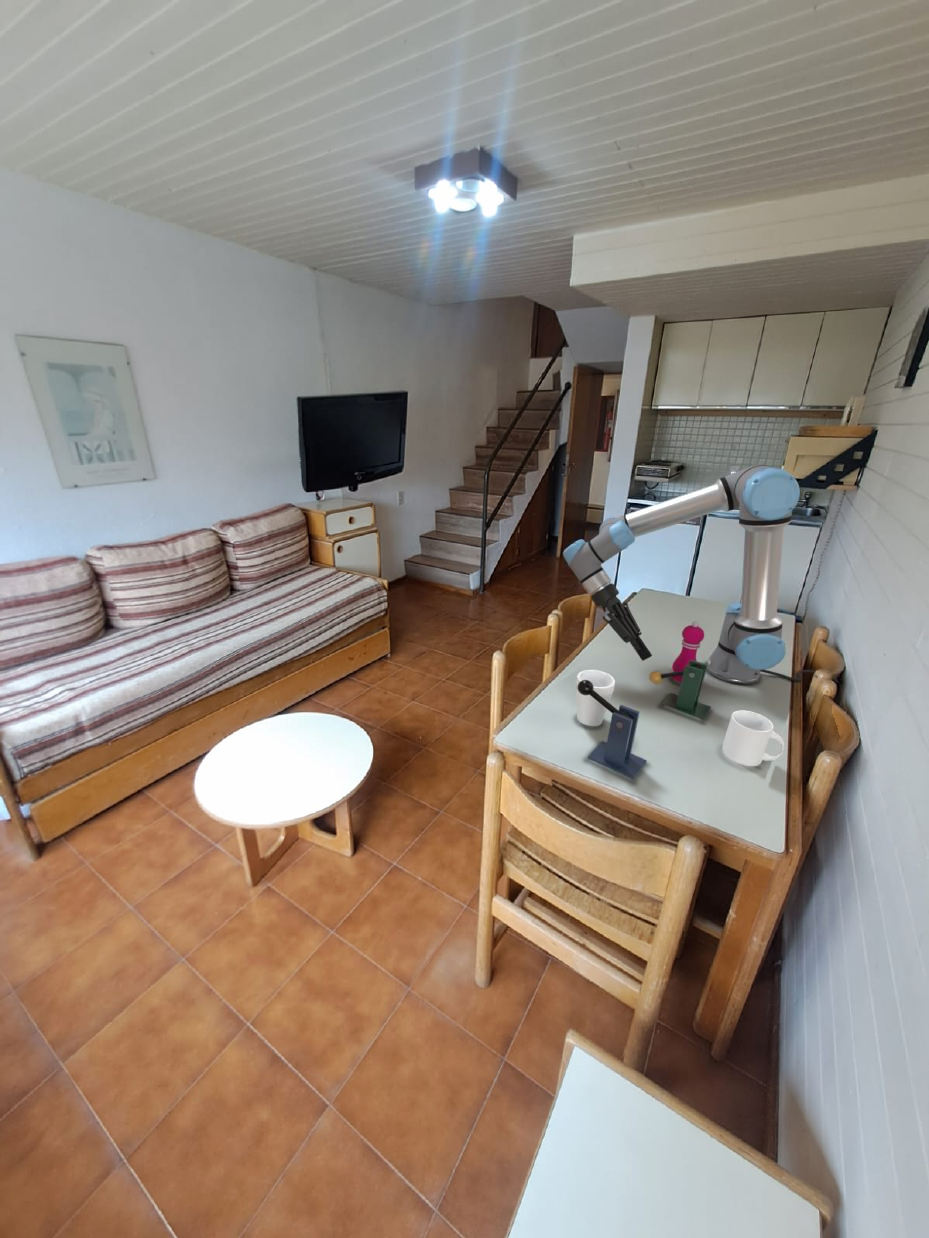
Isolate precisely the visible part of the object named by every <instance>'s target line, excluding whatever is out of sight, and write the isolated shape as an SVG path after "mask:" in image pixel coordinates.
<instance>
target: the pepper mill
mask: <svg viewBox="0 0 929 1238" xmlns="http://www.w3.org/2000/svg"><path fill="white" fill-rule="evenodd" d="M699 625H700V623H699V622H698V621H696V620H695V621H692V623H691V625H687V626H685V627H684V628H683V629H682V632H681V636H682V640H681V646H682V647H681V651H680V652H679V654H678V656H677V657H676V659H674V661H673V663H672V666H671V669H672V672H678V671H684V669H685V666H686V665H689V661H690V660H694V661H697V662H698V660H697V652H698V650H699V649H700V648H701V642H702V641H703V640H704V638H705V632H704V629H703V628H702V627H701V626H699ZM682 677H683V675H682V676H676V677H671V678H672V679H673V680H675V681H676V682H679V683H681V681H682Z"/></svg>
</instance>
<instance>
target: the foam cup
mask: <svg viewBox="0 0 929 1238" xmlns="http://www.w3.org/2000/svg"><path fill="white" fill-rule="evenodd" d="M582 680H588V681H590V682H591V683H592V684H593V687H594V688H593V690H594V691H595V692H596V693H597V694H599V695H600V696H601V697H602V698H604V699H605V700H606V701H607V702H609V703H610V701H611V697H612V695H613V693H614V691H615V687H616V680H615V678H614V677H613V676H612V675H611V674H609V673H608V672H605V671H602V670H599V669H584V670H582V671H578V674H577V675H576V681H575V685H576V719H577V721H578V722H580V723H581V724H583V725H585V726H588V727H598V726H600V725H602V723H603V721H604V718H605V716H606V715H605V714H606V712H607V709H606V708H605V707H604V706H603V705H601V704H600V703H599V702H598V701H597V700H595V699H594V698H593V697H592V696H590V695H582V694H580V693H579V691H578V684H579V682H581V681H582Z"/></svg>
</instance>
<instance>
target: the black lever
mask: <svg viewBox="0 0 929 1238" xmlns="http://www.w3.org/2000/svg"><path fill="white" fill-rule="evenodd" d="M593 688H594V687H593V684H592V683H591V682H590V681H588V680H582V681H581V682H579V684H578V691H579V693H580V694H582V695H590V696H592V697H593V698H594V699H595V700H597V701H598V702H599V703H600V704H601V705H603V706H604V707H605V708H606V710H608V712H610V713H611V714H613V713H614V712H615V713H618V714H620V715H623V716H625V717H628V718H630V719H633V720H634V718H633V717H632V716H631V715H630V714H629V713H627V712H626V711H625V710H624V711H623V712H622V713H621V712H620V711H619V709H618V708H616V707H615V706H614V705H613V704H611V703H610V701H609V702H607V701H606V700H605V699H604V698H602V697H601V696H600V695H599V694H597V693H596V692H595V691H594V690H593Z"/></svg>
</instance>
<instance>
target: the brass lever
mask: <svg viewBox="0 0 929 1238" xmlns="http://www.w3.org/2000/svg"><path fill="white" fill-rule="evenodd" d="M692 667H695V668H698V669H701V667H700V665H696V666H692ZM683 673H684V671H678V672H674V671H672V672H667V673H662V672H661V671H659V670H653V671H651V672H650V673H649V676H648V679H649V681H650V682H651V683H652V684H656V685H658V684H660V683H662V682H663V680H664V679H669V678H672V677H676V676H682V675H683Z"/></svg>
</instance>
